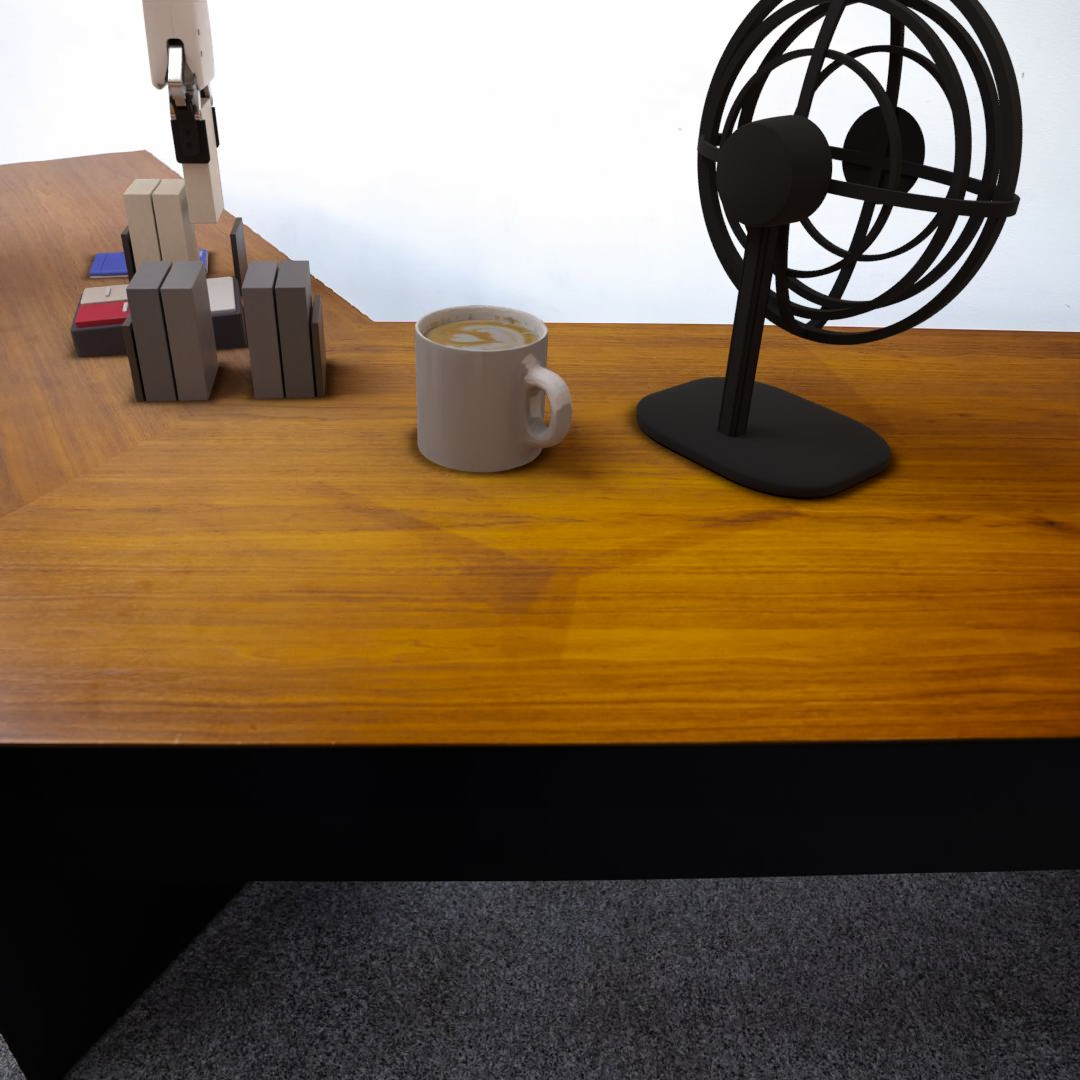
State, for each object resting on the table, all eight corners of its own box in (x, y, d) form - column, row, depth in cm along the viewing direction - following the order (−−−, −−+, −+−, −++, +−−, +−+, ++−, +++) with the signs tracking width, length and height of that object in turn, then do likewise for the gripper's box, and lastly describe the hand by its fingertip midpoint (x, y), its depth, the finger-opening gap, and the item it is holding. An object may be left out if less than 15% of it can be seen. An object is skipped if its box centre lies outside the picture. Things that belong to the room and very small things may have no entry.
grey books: (137, 406, 82) (114, 288, 77) (152, 371, 88) (132, 260, 83) (324, 401, 85) (315, 287, 79) (326, 368, 91) (318, 260, 85)
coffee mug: (393, 439, 79) (389, 319, 73) (493, 410, 84) (495, 297, 79) (492, 508, 70) (495, 378, 65) (596, 471, 76) (606, 348, 70)
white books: (132, 300, 104) (113, 193, 98) (144, 280, 110) (126, 178, 104) (243, 299, 106) (230, 194, 100) (249, 279, 112) (237, 179, 106)
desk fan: (970, 474, 78) (1130, -36, 59) (838, 543, 68) (979, -43, 50) (715, 366, 95) (776, -55, 77) (579, 408, 85) (613, -63, 67)
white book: (190, 223, 101) (173, 108, 95) (199, 207, 107) (184, 97, 101) (216, 223, 101) (201, 108, 95) (224, 207, 107) (210, 97, 101)
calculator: (78, 284, 96) (236, 270, 100) (90, 326, 99) (243, 310, 102) (66, 322, 88) (239, 305, 91) (79, 367, 90) (247, 349, 93)
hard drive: (207, 247, 118) (96, 251, 115) (206, 267, 111) (88, 271, 108) (209, 260, 119) (99, 264, 116) (208, 281, 112) (91, 285, 109)
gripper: (145, -51, 98) (174, 139, 107) (109, -45, 84) (145, 173, 93) (223, -48, 99) (244, 139, 109) (200, -42, 85) (227, 173, 94)
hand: (199, 153), depth 101 cm, fingers closed on white book, 7 cm apart
